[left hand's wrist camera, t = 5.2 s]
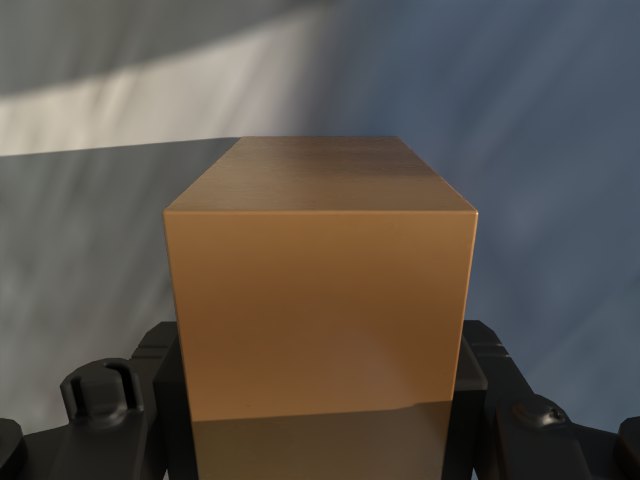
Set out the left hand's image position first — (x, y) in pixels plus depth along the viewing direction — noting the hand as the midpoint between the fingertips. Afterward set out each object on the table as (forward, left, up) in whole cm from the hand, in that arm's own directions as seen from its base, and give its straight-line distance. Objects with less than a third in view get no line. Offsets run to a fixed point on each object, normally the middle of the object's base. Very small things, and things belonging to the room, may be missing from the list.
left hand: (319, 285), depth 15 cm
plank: (+19, +14, -1) cm, 24 cm away
